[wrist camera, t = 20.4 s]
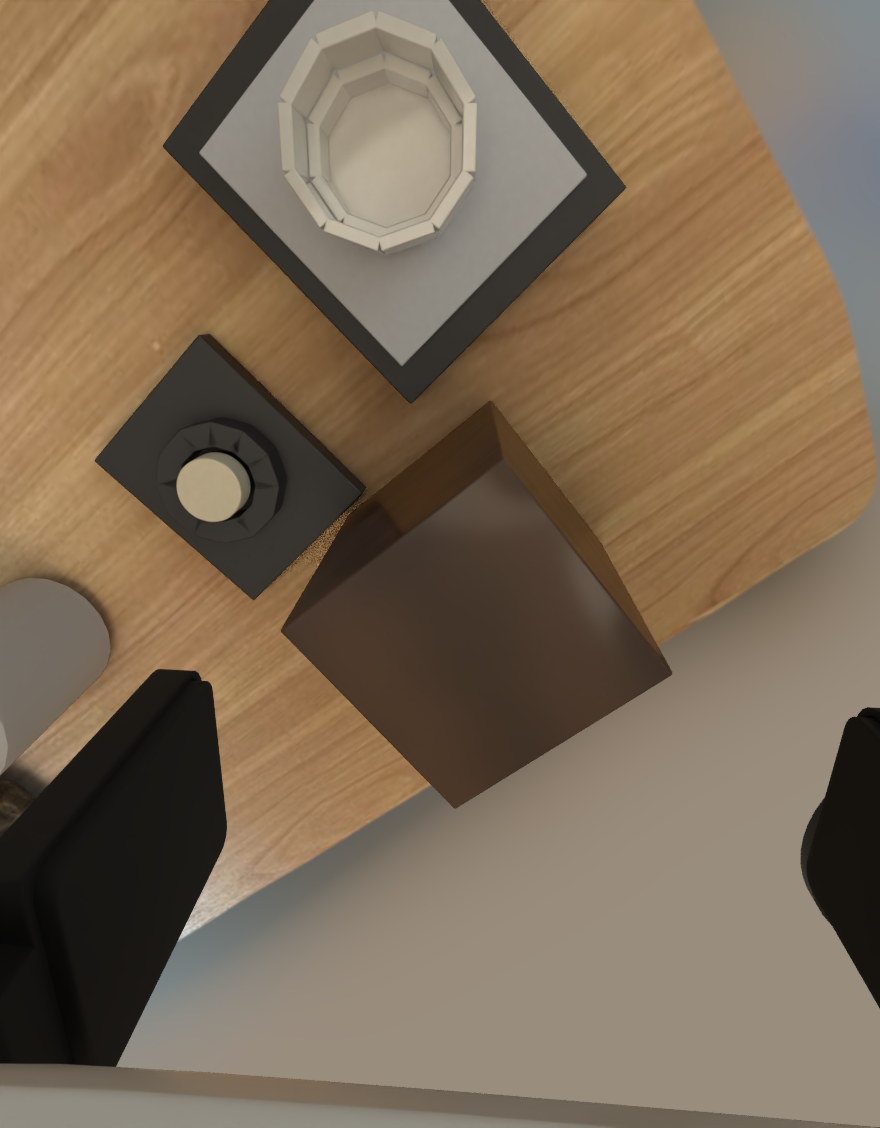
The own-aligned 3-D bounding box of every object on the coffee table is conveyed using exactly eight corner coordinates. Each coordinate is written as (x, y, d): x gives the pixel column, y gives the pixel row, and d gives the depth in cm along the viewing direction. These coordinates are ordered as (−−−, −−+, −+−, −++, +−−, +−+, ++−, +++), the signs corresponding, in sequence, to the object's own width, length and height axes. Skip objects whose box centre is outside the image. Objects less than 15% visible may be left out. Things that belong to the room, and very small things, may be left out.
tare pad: (366, 487, 36) (357, 502, 33) (260, 591, 39) (244, 613, 36) (209, 333, 34) (185, 335, 31) (106, 455, 36) (76, 467, 33)
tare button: (263, 483, 34) (254, 492, 32) (224, 525, 35) (213, 535, 33) (214, 438, 33) (203, 444, 31) (175, 482, 34) (162, 489, 32)
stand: (491, 399, 34) (502, 457, 21) (602, 544, 37) (673, 674, 24) (347, 516, 37) (279, 631, 24) (460, 643, 39) (454, 810, 26)
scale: (614, 196, 31) (630, 184, 28) (414, 397, 34) (409, 406, 31) (380, -99, 27) (368, -151, 24) (186, 159, 31) (155, 142, 28)
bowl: (479, 57, 26) (480, 10, 22) (473, 260, 29) (473, 251, 25) (302, 57, 26) (270, 10, 22) (313, 258, 29) (286, 250, 25)
